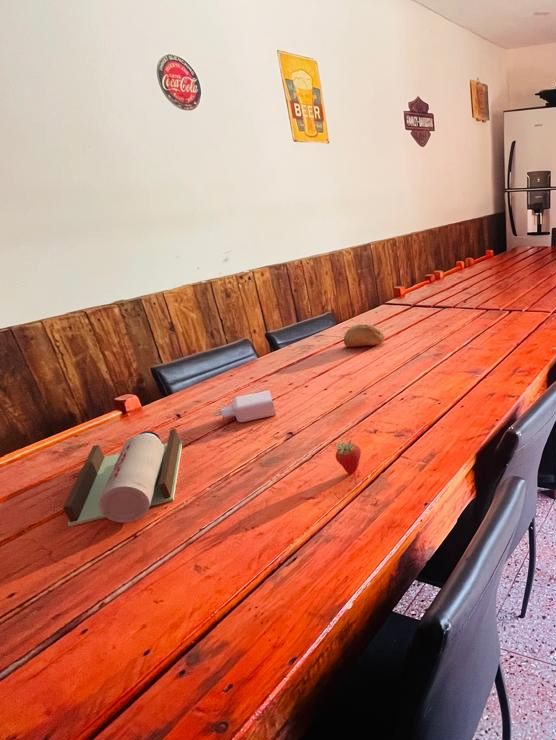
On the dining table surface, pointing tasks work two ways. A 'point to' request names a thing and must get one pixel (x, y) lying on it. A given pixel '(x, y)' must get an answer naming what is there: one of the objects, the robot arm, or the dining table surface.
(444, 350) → the dining table surface
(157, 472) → the thermos bottle
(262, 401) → the white nozzle bottle
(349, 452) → the fruit
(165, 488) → the tray
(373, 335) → the bread roll
